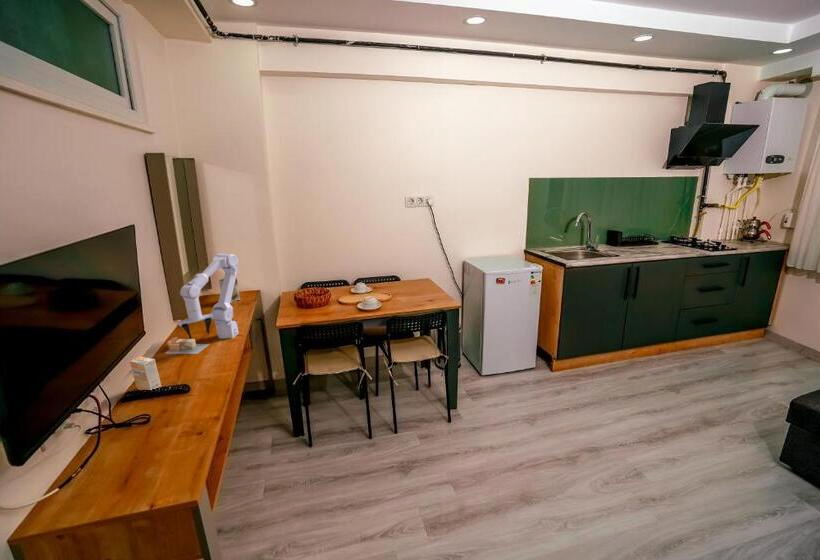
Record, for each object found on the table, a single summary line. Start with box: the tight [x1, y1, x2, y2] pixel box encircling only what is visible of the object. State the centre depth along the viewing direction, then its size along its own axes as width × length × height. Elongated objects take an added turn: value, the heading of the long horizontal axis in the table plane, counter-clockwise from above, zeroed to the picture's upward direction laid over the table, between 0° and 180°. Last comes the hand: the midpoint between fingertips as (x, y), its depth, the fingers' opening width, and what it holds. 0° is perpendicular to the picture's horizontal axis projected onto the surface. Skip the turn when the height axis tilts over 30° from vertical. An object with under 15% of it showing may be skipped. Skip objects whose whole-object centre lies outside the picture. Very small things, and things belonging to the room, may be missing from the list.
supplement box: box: [129, 355, 162, 391], centre depth 149 cm, size 8×5×13 cm, turn 70°
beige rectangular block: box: [176, 338, 197, 349], centre depth 183 cm, size 8×3×4 cm, turn 86°
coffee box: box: [218, 277, 241, 304], centre depth 247 cm, size 9×6×16 cm
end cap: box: [166, 336, 181, 351], centre depth 184 cm, size 6×6×4 cm
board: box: [164, 343, 211, 355], centre depth 183 cm, size 17×10×1 cm, turn 86°
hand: (199, 335), depth 182 cm, fingers open, 7 cm apart
